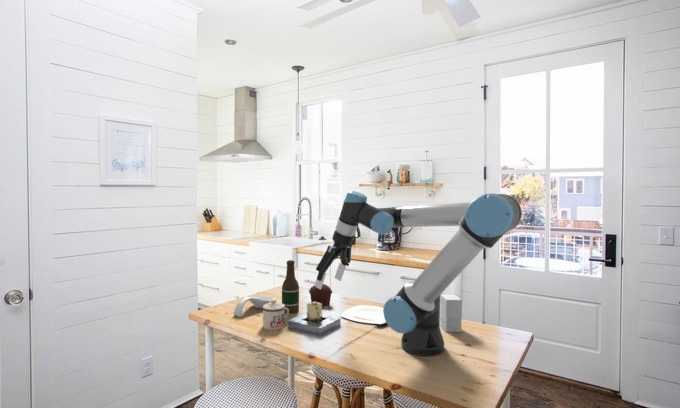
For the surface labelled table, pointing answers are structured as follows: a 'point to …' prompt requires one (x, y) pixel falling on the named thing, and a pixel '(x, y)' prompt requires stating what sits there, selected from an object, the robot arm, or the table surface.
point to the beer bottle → (290, 289)
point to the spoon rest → (256, 301)
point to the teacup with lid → (274, 315)
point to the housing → (314, 324)
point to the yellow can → (314, 312)
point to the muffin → (321, 295)
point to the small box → (450, 313)
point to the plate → (365, 314)
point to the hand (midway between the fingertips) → (328, 283)
